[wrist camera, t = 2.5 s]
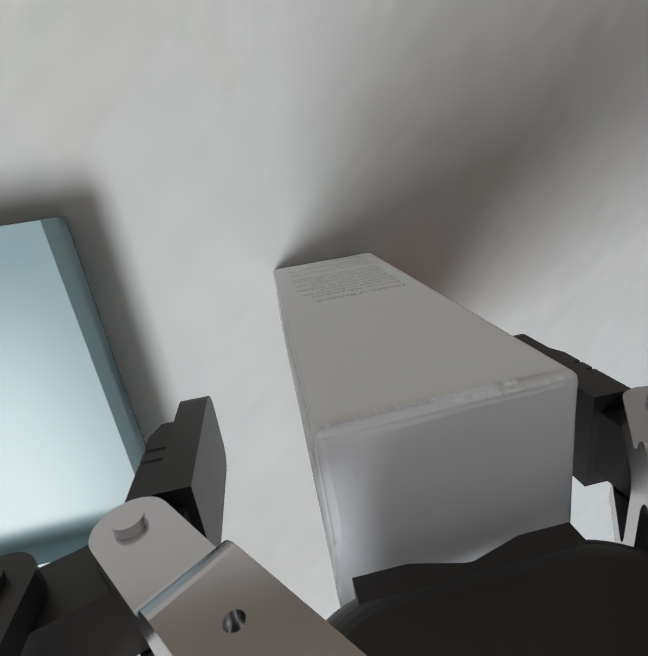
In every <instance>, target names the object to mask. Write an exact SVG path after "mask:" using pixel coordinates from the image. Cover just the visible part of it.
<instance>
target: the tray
mask: <svg viewBox="0 0 648 656" xmlns="http://www.w3.org/2000/svg"><path fill="white" fill-rule="evenodd" d="M145 448H146V447H145V445H144V442H143V439H142V436H141V433H140V430H139V428H138V425H137V422H136V419H135V416H134V413H133V410H132V408H131V405H130V402H129V399H128V396H127V393H126V391H125V388H124V385H123V382H122V379H121V376H120V373H119V371H118V368H117V365H116V362H115V359H114V356H113V354H112V351H111V348H110V345H109V342H108V339H107V336H106V334H105V331H104V328H103V325H102V322H101V319H100V317H99V314H98V311H97V308H96V305H95V302H94V299H93V297H92V294H91V291H90V288H89V285H88V282H87V280H86V277H85V274H84V271H83V268H82V265H81V262H80V260H79V257H78V254H77V251H76V248H75V245H74V243H73V240H72V237H71V234H70V231H69V228H68V225H67V223H66V220H65V217H64V216H59V217H52V218H46V219H39V220H33V221H26V222H20V223H13V224H7V225H1V226H0V556H1V555H4V554H8V553H13V552H26V553H29V554H31V555H32V556H33V557H34V559H35V560H36V562H37V564H38V566H39V568H40V567H42V566H44V565H46V564H48V563H51V562H53V561H55V560H57V559H59V558H62V557H64V556H66V555H68V554H70V553H72V552H75V551H77V550H79V549H81V548H83V547H85V546H86V545H88V544H89V543H88V542H89V537H90V534H91V532H92V530H93V529H94V527H95V526H96V524H97V523H98V522H99V521H100V520H101V519H102V518H103V517H104V516H105V515H106V514H107V513H109V512H110V511H111V510H113V509H114V508H116V507H118V506H120V505H121V504H123V503H125V500H126V498H127V495H128V492H129V490H130V487H131V485H132V482H133V479H134V477H135V474H136V471H137V469H138V466H140V461H141V458H142V456H143V454H145V453H144V450H145Z"/></svg>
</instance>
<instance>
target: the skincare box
mask: <svg viewBox="0 0 648 656" xmlns="http://www.w3.org/2000/svg"><path fill="white" fill-rule="evenodd" d="M273 281H274V287H275V293H276V299H277V305H278V311H279V316H280V321H281V326H282V331H283V336H284V341H285V345H286V350H287V355H288V359H289V364H290V368H291V373H292V377H293V382H294V387H295V391H296V396H297V400H298V405H299V410H300V415H301V419H302V424H303V428H304V433H305V438H306V443H307V447H308V452H309V457H310V462H311V467H312V472H313V477H314V482H315V487H316V492H317V497H318V502H319V507H320V512H321V517H322V522H323V527H324V532H325V537H326V542H327V547H328V552H329V557H330V562H331V567H332V572H333V577H334V582H335V587H336V592H337V597H338V601H339V606H340V608H341V607H342V606H344V605H345V604H347V603H348V602H350V601H352V600H353V599H355V595H354V588H353V582H352V578H354V577H358V576H362V575H365V574H369V573H373V572H377V571H381V570H385V569H389V568H393V567H397V566H400V565H404V564H415V563H466V562H472V561H475V560H477V559H478V558H480V557H482V556H484V555H485V554H487V553H489V552H490V551H492V550H494V549H495V548H497V547H499V546H501V545H502V544H504V543H506V542H507V541H509V540H511V539H513V538H514V537H516V536H518V535H521V534H525V533H529V532H533V531H536V530H540V529H544V528H548V527H552V526H556V525H560V524H564V523H568V522H569V523H570V516H571V492H572V471H573V452H574V432H575V412H576V397H577V388H578V379H577V375H576V374H575V372H574V371H572V370H570V369H569V368H567V367H565V366H563V365H562V364H560V363H558V362H557V361H555V360H553V359H551V358H550V357H548V356H546V355H545V354H543V353H541V352H540V351H538V350H536V349H535V348H533V347H531V346H529V345H528V344H526V343H524V342H522V341H521V340H519V339H517V338H515V337H514V336H512V335H510V334H508V333H507V332H505V331H503V330H502V329H500V328H498V327H496V326H495V325H493V324H491V323H490V322H488V321H486V320H484V319H483V318H481V317H480V316H478V315H476V314H474V313H473V312H471V311H469V310H467V309H465V308H464V307H462V306H460V305H459V304H457V303H455V302H453V301H452V300H450V299H448V298H447V297H445V296H443V295H442V294H440V293H438V292H436V291H434V290H433V289H431V288H430V287H428V286H426V285H425V284H423V283H421V282H419V281H418V280H416V279H414V278H413V277H411V276H409V275H407V274H406V273H404V272H402V271H401V270H399V269H397V268H395V267H394V266H392V265H390V264H389V263H387V262H385V261H383V260H382V259H380V258H378V257H377V256H375V255H373V254H371V253H362V254H358V255H353V256H348V257H343V258H337V259H331V260H325V261H319V262H314V263H308V264H303V265H297V266H291V267H286V268H280V269H276V270H274V271H273Z"/></svg>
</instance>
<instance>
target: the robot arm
mask: <svg viewBox="0 0 648 656" xmlns="http://www.w3.org/2000/svg"><path fill="white" fill-rule="evenodd" d="M514 337H515V338H517V339H519V340H521V341H522V342H524V343H526V344H528V345H529V346H531V347H533V348H535V349H536V350H538V351H540V352H541V353H543V354H545V355H546V356H548V357H550V358H551V359H553V360H555V361H557V362H558V363H560V364H562V365H563V366H565V367H567V368H569V369H570V370H572V371H574V372H575V374H576V375H577V379H578V388H577V397H576V412H575V432H574V452H573V471H572V475H573V476H574V477H575V478H576V479H577V480H578V481H580V482H581V483H582V484H583V485H584V486H588V485H592V484H596V483H600V482H604V481H608V482H610V483H611V488H610V505H611V513H612V521H613V529H614V536H615V542H609V541H600V540H585V539H584V538H583V537H582V535H581V534H580V533H579V532H578V531H577V530H576V529H575V528H574V527H573V526H572V525H571V524H570V523H569V522H568V523H564V524H560V525H556V526H552V527H548V528H544V529H540V530H536V531H533V532H529V533H525V534H521V535H518V536H516V537H514V538H513V539H511V540H509V541H507V542H506V543H504V544H502V545H501V546H499V547H497V548H495V549H494V550H492V551H490V552H489V553H487V554H485V555H484V556H482V557H480V558H478V559H477V560H475V561H472V562H466V563H415V564H404V565H400V566H397V567H393V568H389V569H385V570H381V571H377V572H373V573H369V574H365V575H362V576H358V577H354V578H352V582H353V588H354V595H355V599H353V600H352V601H350V602H348V603H347V604H345V605H344V606H342V607H341V608H340V609H338V610H337V611H336V612H334V613H333V614H332V615H331V616H330V617H329V618H328V619H327V620H325V619H323V618H322V617H321V616H320V615H319V614H317V613H316V612H315V611H314V610H313V609H312V608H310V607H309V606H308V605H307V604H306V603H305V602H303V601H302V600H301V599H300V598H299V597H297V596H296V595H295V594H294V593H293V592H292V591H290V590H289V589H288V588H287V587H286V586H285V585H283V584H282V583H281V582H280V581H279V580H278V579H276V578H275V577H274V576H273V575H272V574H270V573H269V572H268V571H267V570H266V569H265V568H263V567H262V566H261V565H260V564H259V563H258V562H256V561H255V560H254V559H253V558H252V557H250V556H249V555H248V554H247V553H246V552H245V551H243V550H242V549H241V548H240V547H239V546H237V545H236V544H235V543H233V542H232V541H229V540H225V541H224V542H222V543H221V535H222V522H223V509H224V495H225V482H226V455H225V449H224V444H223V441H222V437H221V433H220V429H219V425H218V421H217V418H216V414H215V410H214V406H213V403H212V400H211V398H210V396H206V397H201V398H196V399H191V400H186V401H181V402H180V404H179V407H178V410H177V413H176V417H175V420H174V422H171V423H166V424H162V425H161V426H160V427H159V428H158V429H157V430H156V431H155V432H154V433H153V434H152V435H151V436H150V438H149V440H148V443H147V445H146V448H145V450H144V453H145V454H143V456H142V458H141V461H140V466H138V469H137V471H136V474H135V477H134V479H133V482H132V485H131V487H130V490H129V492H128V495H127V498H126V500H125V503H123V504H121V505H120V506H118V507H116V508H114V509H113V510H111V511H110V512H109V513H107V514H106V515H105V516H104V517H103V518H102V519H101V520H100V521H99V522H98V523H97V524H96V526H95V527H94V529H93V530H92V532H91V534H90V537H89V542H88V543H89V544H88V545H86V546H85V547H83V548H81V549H79V550H77V551H75V552H72V553H70V554H68V555H66V556H64V557H62V558H59V559H57V560H55V561H53V562H51V563H48V564H46V565H44V566H42V567H40V568H39V566H38V564H37V562H36V560H35V559H34V557H33V556H32V555H31V554H29V553H26V552H13V553H8V554H4V555H1V556H0V656H648V386H643V387H635V388H632V389H631V388H629V387H627V386H625V385H624V384H622V383H620V382H618V381H616V380H614V379H613V378H611V377H609V376H607V375H605V374H603V373H602V372H600V371H598V370H596V369H592V367H591V366H589V365H587V364H585V363H583V362H580V361H579V360H578V359H576V358H574V357H572V356H571V355H569V354H567V353H565V352H562V351H559V350H555V349H552V348H548V347H546V346H545V345H543V344H541V343H539V342H538V341H536V340H534V339H532V338H530V337H529V336H527V335H525V334H520V335H515V336H514Z"/></svg>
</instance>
